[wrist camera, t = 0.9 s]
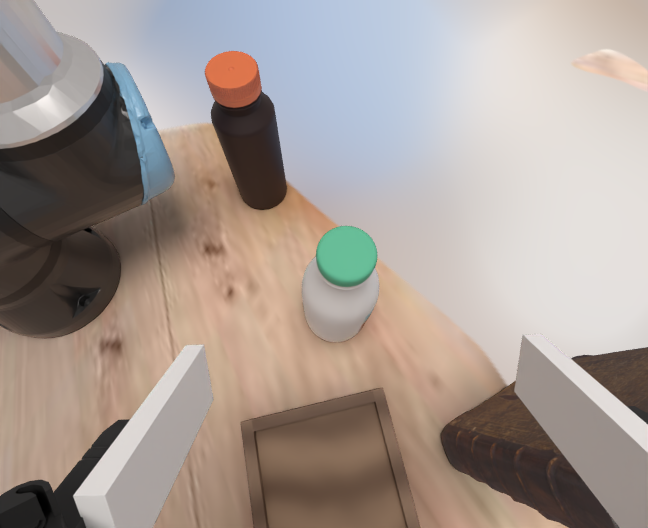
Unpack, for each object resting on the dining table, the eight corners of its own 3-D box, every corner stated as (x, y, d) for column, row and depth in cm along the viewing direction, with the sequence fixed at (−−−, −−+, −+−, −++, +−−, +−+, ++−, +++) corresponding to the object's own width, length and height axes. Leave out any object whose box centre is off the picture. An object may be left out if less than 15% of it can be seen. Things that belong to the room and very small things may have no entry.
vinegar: (235, 178, 51) (187, 52, 32) (279, 165, 52) (257, 36, 33) (247, 216, 49) (202, 105, 30) (293, 202, 50) (277, 86, 31)
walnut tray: (245, 420, 39) (240, 422, 37) (379, 388, 41) (382, 387, 38) (268, 594, 34) (264, 609, 31) (422, 549, 35) (429, 560, 33)
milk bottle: (343, 355, 42) (362, 324, 23) (292, 319, 44) (273, 262, 25) (376, 305, 44) (418, 240, 26) (328, 272, 46) (334, 189, 27)
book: (453, 477, 38) (675, 613, 14) (423, 411, 40) (571, 435, 17) (579, 415, 40) (944, 444, 17) (543, 357, 42) (820, 311, 19)
